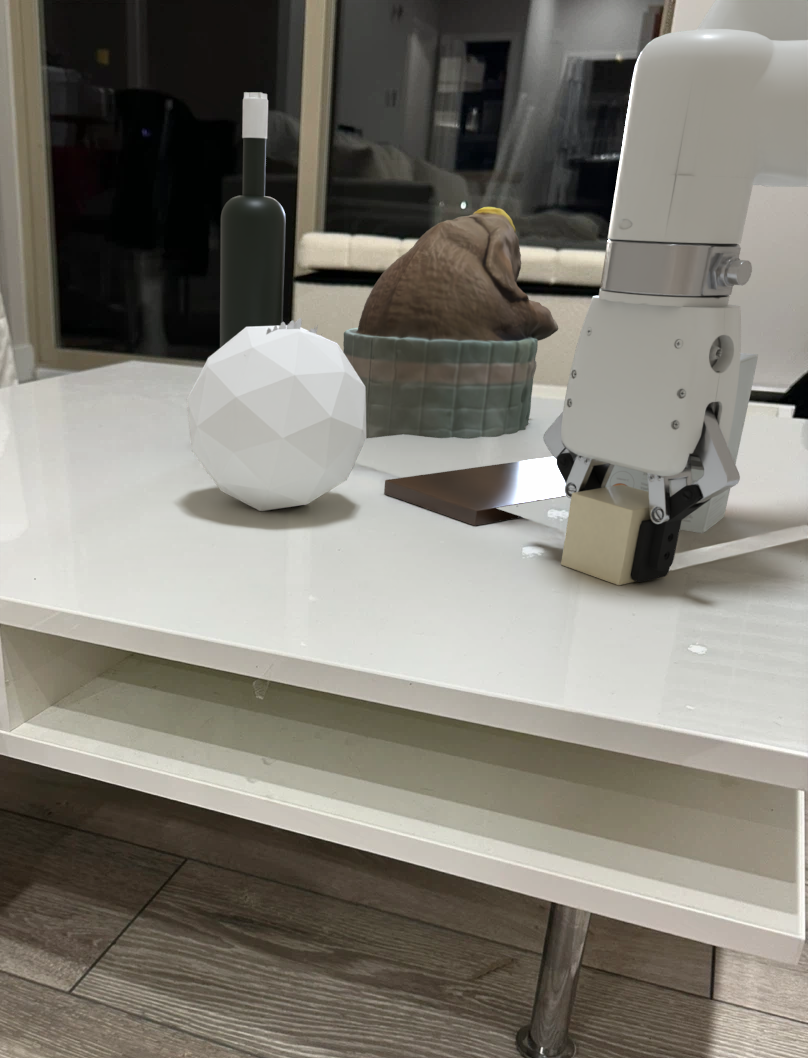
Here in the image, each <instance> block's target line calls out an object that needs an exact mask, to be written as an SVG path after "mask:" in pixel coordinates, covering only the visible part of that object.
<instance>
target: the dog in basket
mask: <svg viewBox="0 0 808 1058" xmlns="http://www.w3.org/2000/svg"><path fill="white" fill-rule="evenodd" d="M519 242H520V239H519V237H518V235H517V234H516V227H515V225H514V222H513V220H512V218H511V217H510V215H509V214H508V213H506V211H505V210H504V209H502V208H500V207H495V206H483V207H482V208H479V209H477V210H476V211H474V212H473V213H472V214H470V215H465V216H458V217H455V218H453V219H446V220H444V221H441V222H438V223H436V224H435V225H434V226H432V227H430V228H429V229H428V230H426V231H425V233H423V234H422V235H421V236H420V237H419V238H418V240H417V241H415V243H414V244H413V246H411V248H409V250H407V251H406V252H405V253H404V254H402V255H400V256H399V257H398V258H396V259H395V261H394V262H393V263H391V264H390V265H389V266H388V267H387V268H386V269H385V270H384V271H382V274H381V275H380V276H379V278H378V279H377V281H376V282H375V284H373V287H372V289H371V291H370V292H369V294H368V296H367V298H366V301H365V303H364V306H363V310H362V311H361V314H360V319H359V321H358V327H352V328H348V329H346V330H344V332H343V344H342V345H343V350H342V351H343V353H344V354H345V356H346V357H347V359H348V360H349V362H350V364H351V365H352V367H353V368H354V370H355V371H356V373H357V374H358V376H359V378H360V379H361V381H362V382H363V384H364V385H365V390H366V439H375V438H383V437H384V438H385V437H392V436H402V435H407V436H417V437H418V436H419V437H427V438H434V439H435V438H436V439H449V438H456V439H464V440H465V439H466V440H467V439H477V438H495V437H496V438H497V437H500V436H503V435H513V434H516V433H518V432H519V431H525V430H527V429H526V427H527V426H529V421H530V415H531V408H532V407H531V406H532V395H533V388H534V387H533V386H534V379H535V378H534V377H535V373H536V370H537V361H536V357H537V353H538V348H539V347H538V342H539V341H543V340H545V339H547V338H550V337H551V336H552V335H554V334H555V333H556V332H558V330H559V325H558V323H557V321H556V319H554V317H553V315H552V312H551V310H550V309H549V308H547V307H546V306H545V305H542V303H541V302H539V301H535V300H531V299H530V298H529V296H528V294H527V293H525V292H524V291H523V290H522V289H521V288H520V287H519V286H518V284H517V280H518V278H519V276H520V273H521V272H520V271H521V269H522V260H521V259H522V255H521V249H520V248H521V247H520V243H519Z"/></svg>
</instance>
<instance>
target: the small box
mask: <svg viewBox="0 0 808 1058" xmlns="http://www.w3.org/2000/svg"><path fill="white" fill-rule="evenodd" d="M758 357H759V354H758V353H747V352H741V354H740V368H739V378H738V387H737V394H736V402H735V409H734V415H733V421H732V427H731V432H730V438H729V443H728V448H729V450H730V453H731V455H732V458H733V460H734V462H735V465H736V464H737V459H738V455H739V450H740V444H741V439H742V436H743V430H744V427H745V422H746V418H747V417H746V416H747V412H748V407H749V403H750V397H751V394H752V388H753V384H754V379H755V374H756V368H757V365H758V364H757V363H758V359H759V358H758ZM736 466H737V465H736ZM691 472H692V483H694V482H696V481H697V480H698V479H700V478H701V477H702V476H703V474H704V470H697V469H691ZM669 482H670V480H669ZM617 485H625V486H629V487H632V488H636V489H640V490H643V491H647V492H648V473H645V472H641V471H637V470H633V469H629V468H625V467H621V466H617V465H614V468H613V470H612V472H611V475H610V477H609V479H608V482H607V484H606V486H605V487H611V486H617ZM730 493H731V488H730V489H728V490H726V491H724V492H722V493H721V494H719V495H717V496H714V497H712V498H711V499H710V500H709V501H708V502H706V503H705V504H703V505H702V506H701V507H699V508H698V509H696V510H695V511H694V512H692V515H691V516H690V517H689V518H686V519H682V521H681V526H680V531H686V532H692V533H697V534H705V532H707V531H708V530H709V529H711V528H712V527H713V526H715V525H716V524H718V522H720V521H721V520H722V519H723V518H725V516H726V515H725V514H726V511H727V510H726V509H727V505H728V500H729V495H730ZM670 497H671V482H670Z"/></svg>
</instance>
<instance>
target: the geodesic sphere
mask: <svg viewBox="0 0 808 1058" xmlns="http://www.w3.org/2000/svg"><path fill="white" fill-rule="evenodd" d="M302 319H303V318H301V317H300V318H298V319H297V320H296V321H295V320H294V319H292V320H291V321H289V323H287V324H286V322H284V321H283V322H282V323H281V325H280V326H255V327H245V328H244V329H243V330H242V331H241V332H239V333H238V334H237V335H236V336H234V337H233V338H232V339H231V340H229V341H228V342H227V343H226V344H225V345H223V346H222V347H221V348H220V347H219V348H218V349H217V350H216V351H214V352H213V353H212V354H211V355H209V356H208V357H207V359H206V361H205V363H204V365H203V367H202V368H201V371H200V372H199V375H198V377H197V379H196V380H195V382H194V385H193V387H192V388H191V390H190V392H189V394H188V395H187V397H186V406H187V418H188V429H189V438H190V450H191V452H192V453H193V455H194V456H195V458H196V459H197V460H198V462H199V463H200V464H201V466H202V467H203V468H204V470H205V472H207V474H208V475H209V477H210V478H211V479H212V481H213V482H214V483H215V485H216V486H217V487H218V489H219V490H220V491H221V492H222V493H224V494H225V495H229V496H230V497H232V498H234V499H236V500H238V501H240V502H242V503H244V504H245V505H248V506H249V507H251V508H253V509H254V510H255V509H256V510H257V511H259V512H265V511H271V510H278V509H285V508H291V507H292V508H293V507H298V506H307V505H308V504H310V503H312V502H313V501H315V500H316V499H319V498H320V497H322V496H323V495H325V494H327V493H328V492H330V491H331V490H333V489H334V488H336V487H338V486H339V485H341V484H343V483H345V482H346V481H347V480H348V478H349V476H350V475H351V472H352V470H353V468H354V466H355V464H356V461H357V460H358V457H359V455H360V453H361V451H362V449H363V447H364V444H365V442H366V440H367V438H366V390H365V385H364V384H363V382H362V381H361V379H360V378H359V376H358V374H357V373H356V371H355V370H354V368H353V367H352V365H351V364H350V362H349V360H348V359H347V357H346V356H345V354H344V353H343V350H342V347H341V346H340V345H339V343H338V342H336V341H334V340H331V339H329V338H326V337H324V336H322V335H323V333H321V335H320V334H317V332H318V326H319V324H317V323H316V324H317V325H316V326H315V327H313V328H312V327H311V328H310V329H309V330H308V329H307V328H303V327H302V321H303V320H302Z"/></svg>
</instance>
